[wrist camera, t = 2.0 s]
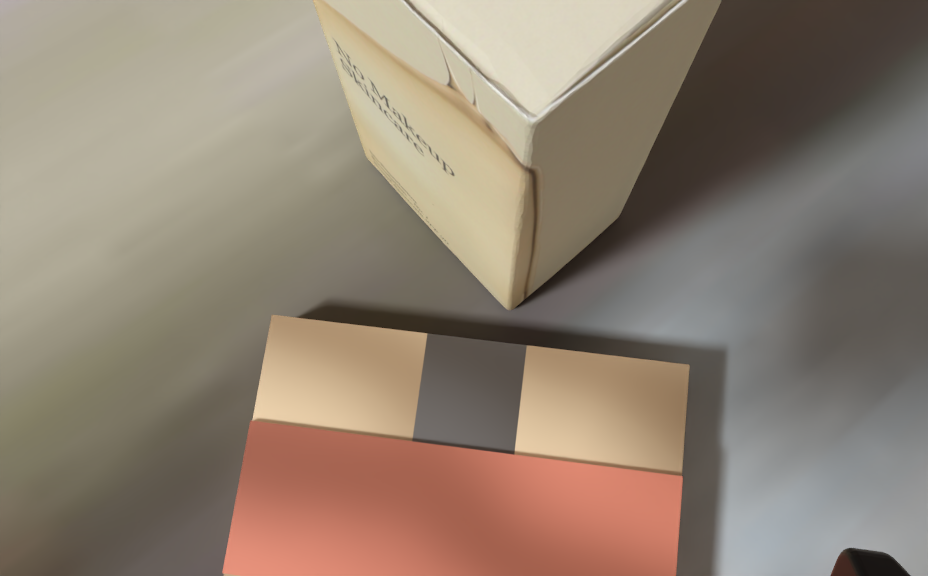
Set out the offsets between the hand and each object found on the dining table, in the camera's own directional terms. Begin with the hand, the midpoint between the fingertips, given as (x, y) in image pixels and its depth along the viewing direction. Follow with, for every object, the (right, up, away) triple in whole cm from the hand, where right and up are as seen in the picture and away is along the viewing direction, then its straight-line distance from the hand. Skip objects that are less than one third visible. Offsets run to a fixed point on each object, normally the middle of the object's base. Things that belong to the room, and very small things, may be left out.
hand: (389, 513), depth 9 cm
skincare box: (+2, +5, +15) cm, 16 cm away
